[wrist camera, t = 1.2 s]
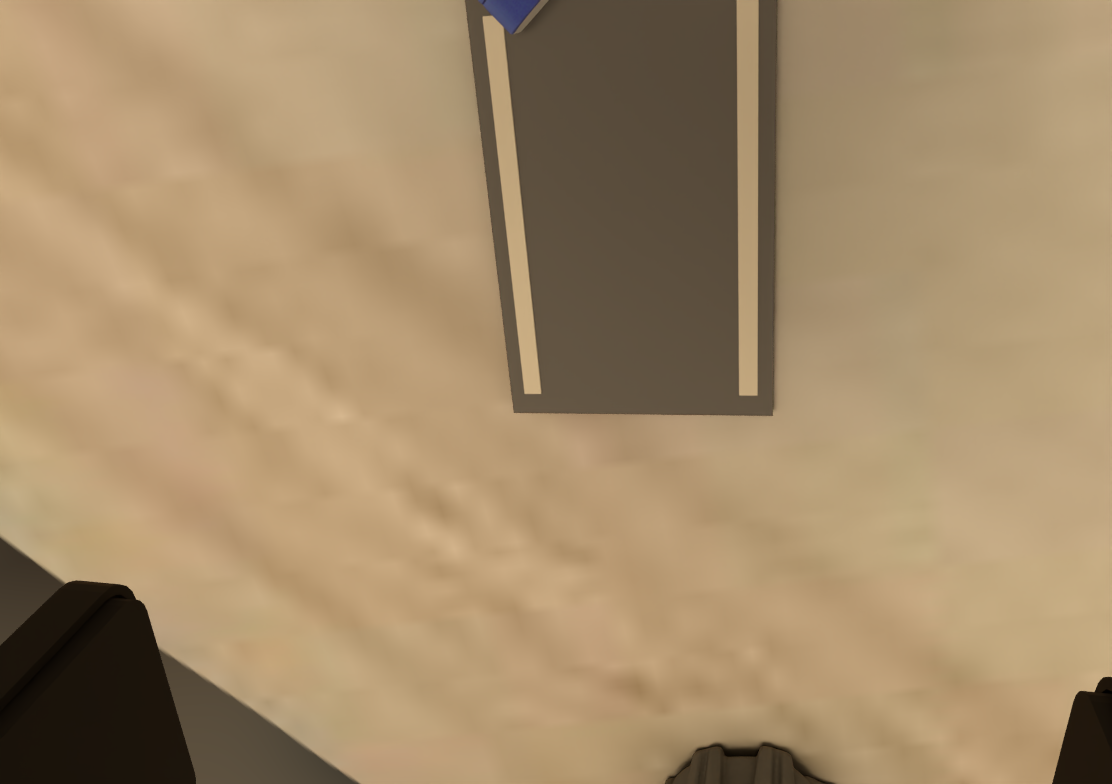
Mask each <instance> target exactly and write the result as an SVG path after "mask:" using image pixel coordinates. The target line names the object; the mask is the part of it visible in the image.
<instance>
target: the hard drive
mask: <svg viewBox="0 0 1112 784" xmlns="http://www.w3.org/2000/svg"><path fill="white" fill-rule="evenodd" d="M478 1H479V2H480V3H481V4H482V5H483V6H484V7H485V8H486V10H487V11H488V12H489V13H490V14H491V15H492V16H493V17H494V18H495V19H496V20H497V21H498V22H499V23H500V24H501V25H502V26H503V27H504V28H505V29H506V30H507V31H508V32H509V33H510V34H512V35H513V34H515V33H519V32H521V31H522V30H523V29H524V28H525V27H526V26H527V25H528V24H529V22H530V21H531V20H532V19H533V18H534V17H535V16H536V14H537V13H538V12H539V11H540V10H541V9H542V7H543V6H544V5H545V4H546V3H547V2H548V1H549V0H478Z"/></svg>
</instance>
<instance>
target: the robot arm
mask: <svg viewBox="0 0 1112 784" xmlns="http://www.w3.org/2000/svg"><path fill="white" fill-rule="evenodd" d="M0 784H196V777H195V772H194V769H193V765H192V762H191V758H190V755H189V752H188V749H187V745H186V742H185V738H184V735H183V731H182V728H181V725H180V721H179V718H178V714H177V711H176V707H175V704H174V701H173V697H172V694H171V691H170V687H169V684H168V681H167V677H166V674H165V670H164V667H163V664H162V660H161V656H160V653H159V650H158V646H157V643H156V639H155V636H154V633H153V629H152V626H151V623H150V619H149V616H148V612H147V610H146V607H145V605H144V604H143V603H142V602H141V601H139V600H136V598H135V596H134V594H133V592H132V591H131V590H130V589H129V588H128V587H127V586H124V585H120V584H109V583H98V582H88V581H77V580H76V581H72V582H68V583H67V584H65V585H64V586H62V587H61V588H60V589H59V590H58V591H57V592H55V593H54V594H53V595H52V596H51V597H50V598H49V599H48V600H47V601H46V602H45V603H44V604H43V605H42V606H41V607H40V608H39V609H38V610H37V611H36V612H35V613H34V614H33V615H32V616H30V618H28V619H27V620H26V621H25V622H24V623H23V624H22V625H21V626H20V627H19V628H18V629H17V630H16V631H15V632H14V633H13V634H12V635H11V636H10V637H9V638H8V639H7V640H6V641H5V642H3V644H1V646H0ZM1052 784H1112V677H1103V678H1102V679H1101V680H1100V682H1099V683H1098V685H1097V688H1096V690H1095V692H1087V691H1079V692H1078V693H1077V695H1076V696H1075V699H1074V702H1073V705H1072V709H1071V713H1070V717H1069V721H1068V725H1067V729H1066V732H1065V736H1064V740H1063V744H1062V748H1061V752H1060V756H1059V760H1058V763H1057V767H1056V771H1055V775H1054V779H1053V783H1052Z"/></svg>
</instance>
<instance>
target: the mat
mask: <svg viewBox="0 0 1112 784" xmlns="http://www.w3.org/2000/svg"><path fill="white" fill-rule="evenodd" d="M465 3H466V12H467V20H468V28H469V37H470V45H471V54H472V62H473V71H474V79H475V88H476V96H477V105H478V113H479V122H480V130H481V139H482V147H483V155H484V164H485V172H486V181H487V189H488V198H489V206H490V215H491V223H492V232H493V240H494V249H495V257H496V266H497V274H498V282H499V291H500V299H501V308H502V316H503V325H504V333H505V342H506V350H507V359H508V367H509V376H510V384H511V393H512V401H513V409H514V413H577V414H661V415H744V416H773V331H774V234H775V136H776V39H777V0H549V1H548V2H547V3H546V4H545V5H544V6H543V7H542V9H541V10H540V11H539V12H538V13H537V14H536V16H535V17H534V18H533V19H532V20H531V21H530V22H529V24H528V25H527V26H526V27H525V28H524V29H523V30H522V31H521V32H519V33H515V34H513V35H512V34H510V33H509V32H508V31H507V30H506V29H505V28H504V27H503V26H502V25H501V24H500V23H499V22H498V21H497V20H496V19H495V18H494V17H493V16H492V15H491V14H490V13H489V12H488V11H487V10H486V8H485V7H484V6H483V5H482V4H481V3H480V2H479V1H478V0H465Z"/></svg>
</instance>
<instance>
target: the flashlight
mask: <svg viewBox="0 0 1112 784" xmlns="http://www.w3.org/2000/svg"><path fill="white" fill-rule="evenodd" d="M665 784H825V783H822V782H819V781H817V780H815V779H813V778H811V777H809V776H803V775H802V774H801V773H799V772H798V771H797V770H796V769H794V768H793V761H792V757H791V755H790V754H789V753H787V752H785V751H782V750H778V749H775V748H772V747H768V746H761V747H760V749H759V752H758V755H757V756H756V757H742V756H739V757H726V756H725V754H724V751H723V750H722V748H721V747H717V746H715V747H710V748H707V749H703V750H699V751H696V752H695V753H694V754H693V757H692V761H691V765H690V766H688V767H687V768H685V769H684V770H683V771H681V772H680V773H679V774H678V775H677V776H676V778H669V779H668V780H666V782H665Z"/></svg>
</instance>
